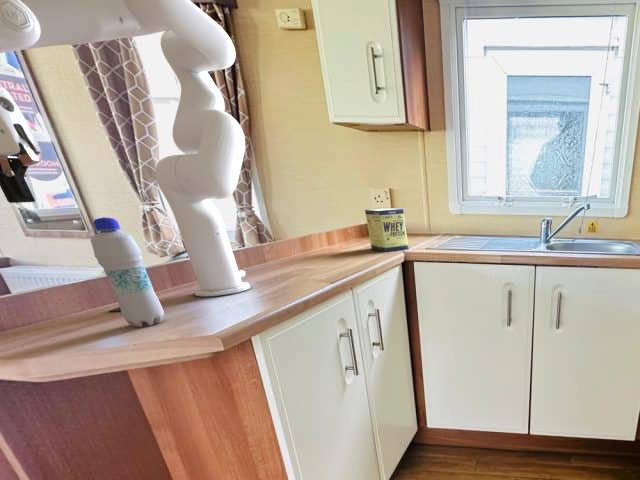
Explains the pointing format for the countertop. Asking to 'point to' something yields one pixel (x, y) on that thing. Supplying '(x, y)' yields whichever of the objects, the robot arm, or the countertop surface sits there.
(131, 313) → the bottle
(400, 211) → the protein box
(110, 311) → the bottle marker
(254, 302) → the countertop surface
